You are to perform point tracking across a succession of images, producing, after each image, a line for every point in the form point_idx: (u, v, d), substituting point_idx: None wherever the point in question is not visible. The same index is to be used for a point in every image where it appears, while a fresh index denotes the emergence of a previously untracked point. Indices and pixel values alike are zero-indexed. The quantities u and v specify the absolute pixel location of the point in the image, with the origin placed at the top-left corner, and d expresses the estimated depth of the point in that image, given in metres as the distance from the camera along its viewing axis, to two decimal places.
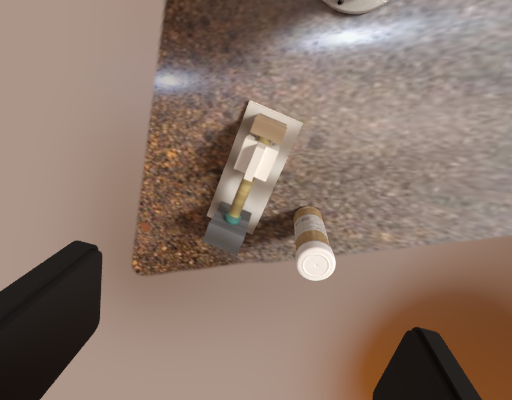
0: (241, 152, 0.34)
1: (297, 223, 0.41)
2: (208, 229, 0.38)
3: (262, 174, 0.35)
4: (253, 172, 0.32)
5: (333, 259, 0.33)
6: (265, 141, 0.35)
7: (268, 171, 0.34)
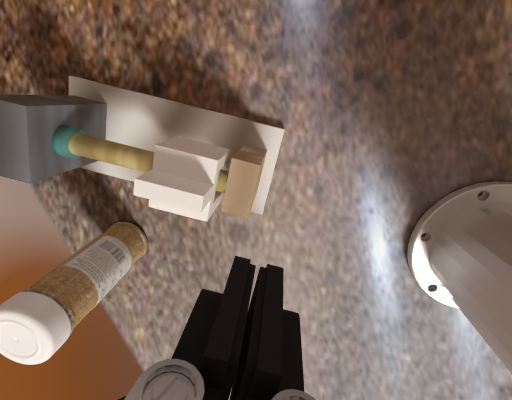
0: (189, 156, 0.18)
1: (107, 245, 0.25)
2: (11, 106, 0.17)
3: None
4: (152, 196, 0.16)
5: (41, 361, 0.18)
6: (221, 186, 0.20)
7: (168, 209, 0.19)
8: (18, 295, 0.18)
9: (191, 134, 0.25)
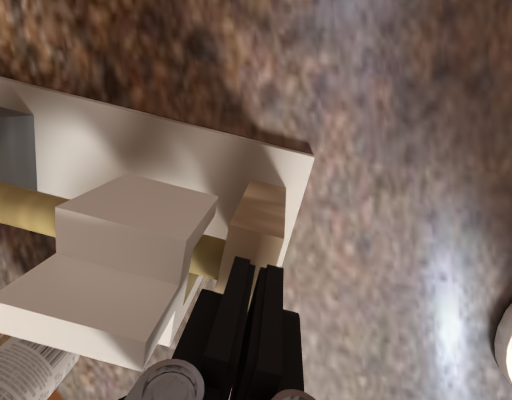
0: (126, 230, 0.08)
1: None
2: None
3: None
4: (33, 335, 0.07)
5: None
6: (210, 272, 0.11)
7: None
8: None
9: (166, 163, 0.16)
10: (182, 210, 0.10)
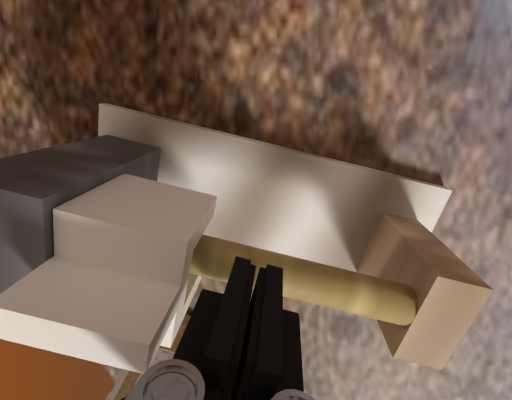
0: (126, 232, 0.08)
1: None
2: (9, 198, 0.08)
3: None
4: (33, 340, 0.07)
5: None
6: (403, 320, 0.11)
7: None
8: None
9: (296, 195, 0.16)
10: (182, 211, 0.10)
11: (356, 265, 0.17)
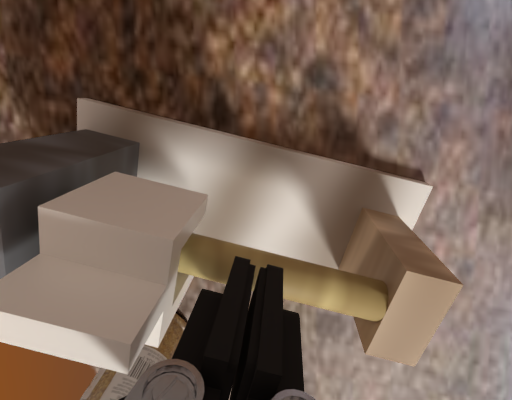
0: (111, 230, 0.08)
1: (141, 368, 0.16)
2: None
3: None
4: (14, 339, 0.07)
5: None
6: (373, 316, 0.11)
7: None
8: None
9: (275, 191, 0.16)
10: (170, 209, 0.10)
11: (337, 262, 0.17)
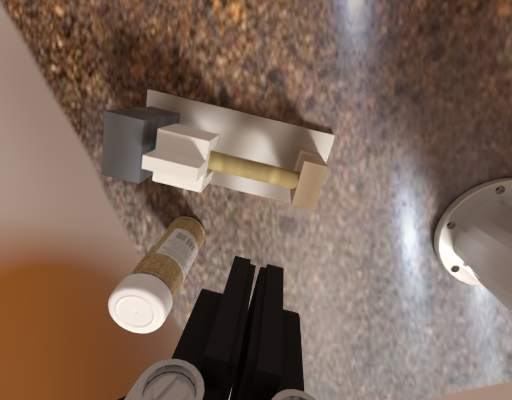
0: (185, 137, 0.22)
1: (181, 236, 0.29)
2: (131, 120, 0.21)
3: (161, 174, 0.23)
4: (157, 169, 0.20)
5: (153, 330, 0.22)
6: (293, 184, 0.24)
7: (168, 182, 0.23)
8: (133, 276, 0.22)
9: (253, 139, 0.29)
10: (205, 135, 0.23)
11: None
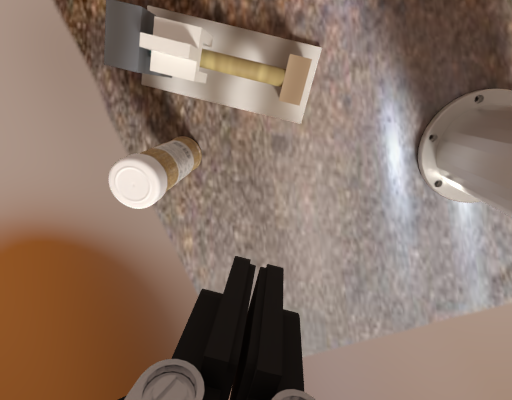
0: (180, 24, 0.24)
1: (177, 144, 0.31)
2: (130, 6, 0.23)
3: (158, 63, 0.25)
4: (153, 46, 0.22)
5: (149, 204, 0.24)
6: (280, 79, 0.26)
7: (164, 71, 0.25)
8: None
9: (245, 54, 0.31)
10: None
11: (279, 96, 0.32)
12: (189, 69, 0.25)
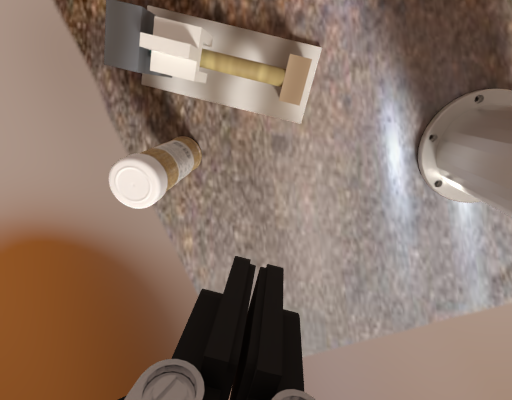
0: (180, 24, 0.24)
1: (177, 144, 0.31)
2: (130, 6, 0.23)
3: (158, 63, 0.25)
4: (153, 46, 0.22)
5: (149, 204, 0.24)
6: (280, 79, 0.26)
7: (164, 71, 0.25)
8: (131, 154, 0.24)
9: (245, 54, 0.31)
10: None
11: (279, 96, 0.32)
12: (189, 69, 0.25)
